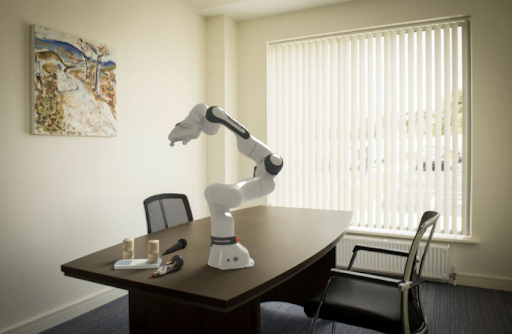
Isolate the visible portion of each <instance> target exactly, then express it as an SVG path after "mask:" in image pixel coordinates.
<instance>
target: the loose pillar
mask: <svg viewBox="0 0 512 334" xmlns="http://www.w3.org/2000/svg"><path fill="white" fill-rule="evenodd" d="M134 258H135V238H134V237H133V238H131V237H130V238H129V237H128V238H126V237H125V238H124V239H123V240H122V260H127V259H134Z"/></svg>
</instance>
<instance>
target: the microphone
mask: <svg viewBox="0 0 512 334" xmlns="http://www.w3.org/2000/svg"><path fill="white" fill-rule="evenodd" d="M187 246H188V240H187V239H186V238H180V239H178V240H177V243H174V244H173V245H172V246H171V247H169V248H168V249H165V251H164V252H163V253H162V254H161V255H162V256H165V255H169V254H171V253H173V252H175V251H178V250H180V249H185V248H187Z"/></svg>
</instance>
